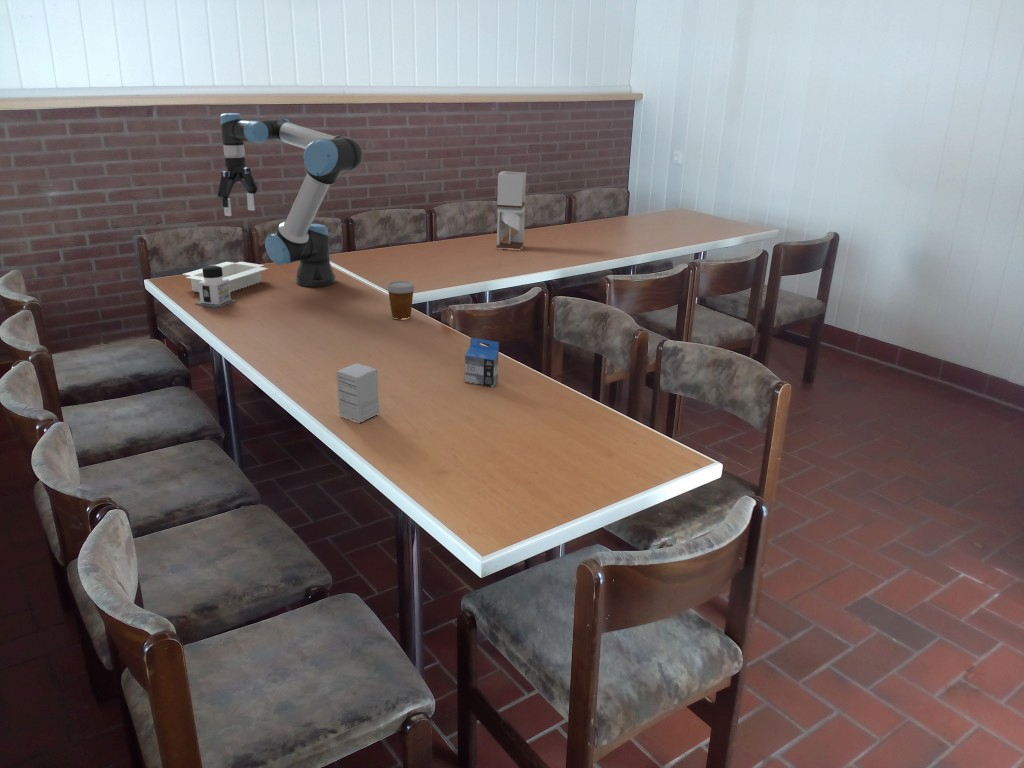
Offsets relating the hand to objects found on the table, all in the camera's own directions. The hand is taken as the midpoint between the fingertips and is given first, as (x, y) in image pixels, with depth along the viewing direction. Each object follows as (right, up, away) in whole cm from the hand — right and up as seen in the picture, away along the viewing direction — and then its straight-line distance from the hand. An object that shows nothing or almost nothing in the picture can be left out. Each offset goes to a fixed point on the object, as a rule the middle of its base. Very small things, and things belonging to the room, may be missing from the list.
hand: (240, 213), depth 317 cm
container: (-2, -37, -21) cm, 42 cm away
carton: (-5, -28, -1) cm, 29 cm away
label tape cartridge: (+97, -66, -86) cm, 145 cm away
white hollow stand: (+104, -1, +75) cm, 129 cm away
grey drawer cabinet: (+66, -75, -109) cm, 148 cm away
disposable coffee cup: (+67, -43, -31) cm, 85 cm away
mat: (-2, -37, -21) cm, 43 cm away
